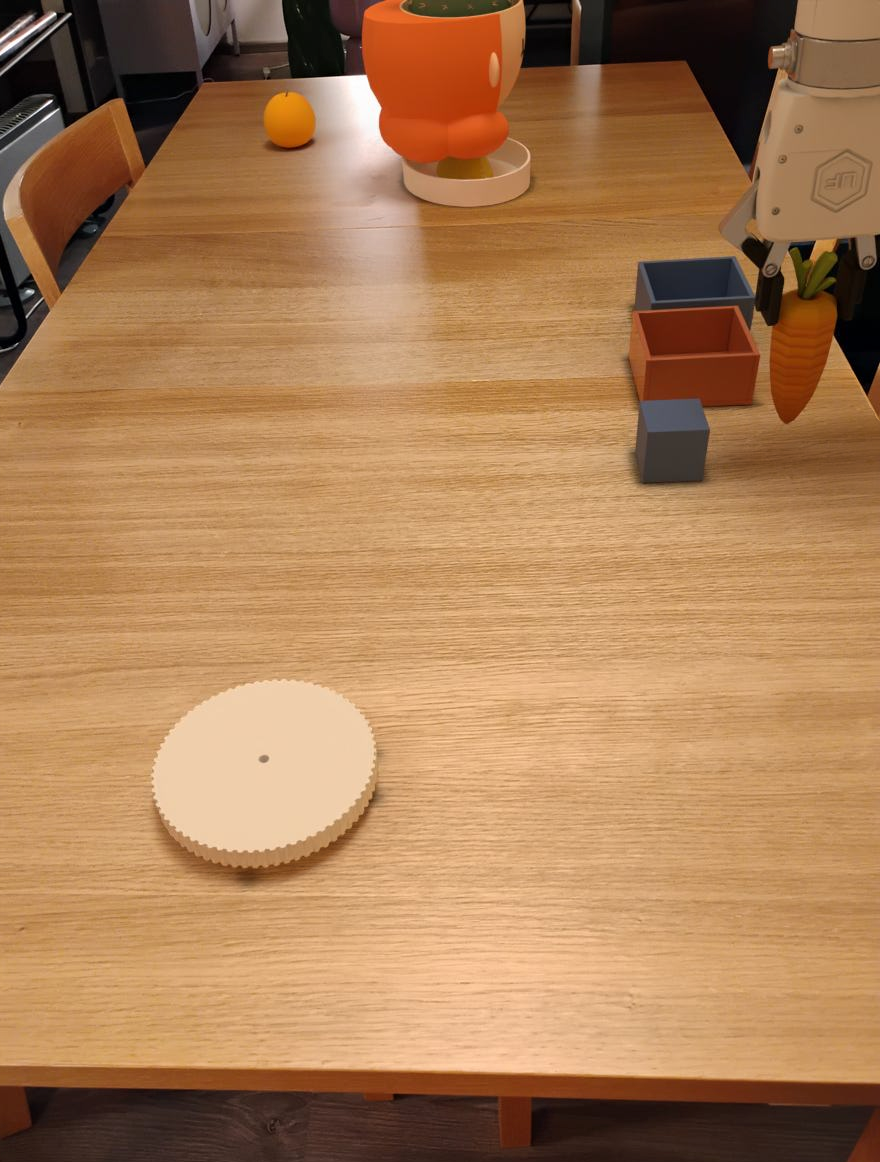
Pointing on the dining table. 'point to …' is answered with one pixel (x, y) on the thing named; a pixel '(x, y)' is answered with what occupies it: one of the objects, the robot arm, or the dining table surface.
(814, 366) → the carrot
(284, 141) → the orange
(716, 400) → the terracotta bin
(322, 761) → the beige gear wheel
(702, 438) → the block
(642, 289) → the blue bin
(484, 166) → the potted cactus
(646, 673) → the dining table surface
